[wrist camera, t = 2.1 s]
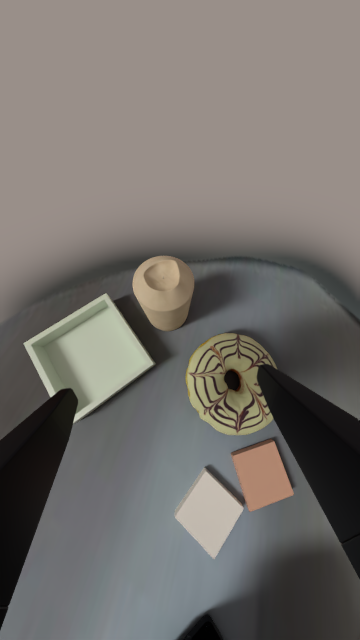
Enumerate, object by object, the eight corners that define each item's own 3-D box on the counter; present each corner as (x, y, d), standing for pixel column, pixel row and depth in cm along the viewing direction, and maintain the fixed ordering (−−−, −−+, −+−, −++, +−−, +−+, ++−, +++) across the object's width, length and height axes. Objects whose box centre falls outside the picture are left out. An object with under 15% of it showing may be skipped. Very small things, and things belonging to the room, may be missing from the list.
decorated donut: (223, 447, 19) (235, 466, 16) (168, 370, 21) (167, 371, 18) (286, 389, 21) (309, 393, 18) (229, 322, 23) (239, 314, 20)
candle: (168, 286, 24) (164, 233, 15) (195, 312, 23) (210, 274, 14) (139, 311, 23) (114, 272, 14) (166, 340, 22) (160, 319, 13)
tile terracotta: (286, 486, 19) (294, 494, 18) (245, 502, 18) (249, 511, 17) (268, 436, 20) (274, 441, 19) (229, 450, 20) (232, 455, 18)
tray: (156, 364, 21) (153, 363, 19) (79, 420, 20) (66, 428, 17) (112, 300, 24) (105, 293, 21) (40, 346, 22) (23, 343, 19)
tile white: (239, 499, 18) (244, 508, 17) (211, 546, 17) (214, 559, 16) (203, 464, 19) (205, 470, 18) (174, 507, 18) (174, 516, 17)
